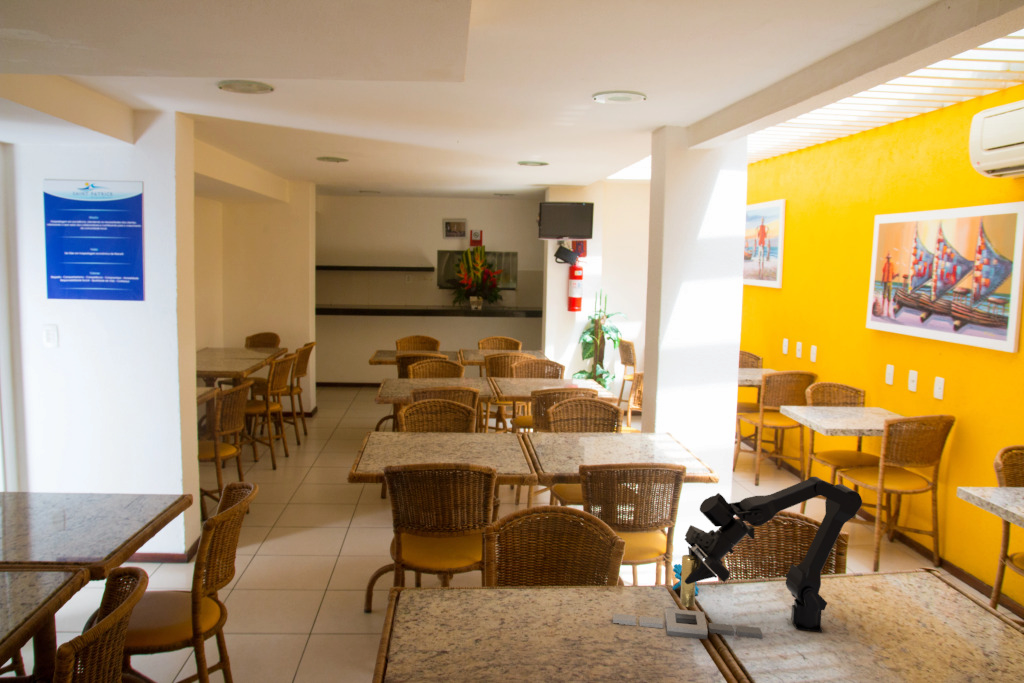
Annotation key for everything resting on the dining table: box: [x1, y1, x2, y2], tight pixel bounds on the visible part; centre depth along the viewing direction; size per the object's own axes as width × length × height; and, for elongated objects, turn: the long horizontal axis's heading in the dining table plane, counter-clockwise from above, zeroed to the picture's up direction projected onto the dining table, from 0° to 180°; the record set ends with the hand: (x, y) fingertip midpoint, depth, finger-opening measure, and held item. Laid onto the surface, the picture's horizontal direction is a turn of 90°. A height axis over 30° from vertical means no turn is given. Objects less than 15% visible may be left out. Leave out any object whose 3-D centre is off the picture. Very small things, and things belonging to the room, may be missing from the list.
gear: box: [671, 563, 700, 596], centre depth 206 cm, size 11×6×10 cm
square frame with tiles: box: [612, 608, 763, 640], centre depth 184 cm, size 38×10×2 cm, turn 80°
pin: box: [679, 554, 696, 608], centre depth 183 cm, size 4×4×12 cm
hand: (683, 579), depth 183 cm, fingers closed on pin, 4 cm apart
